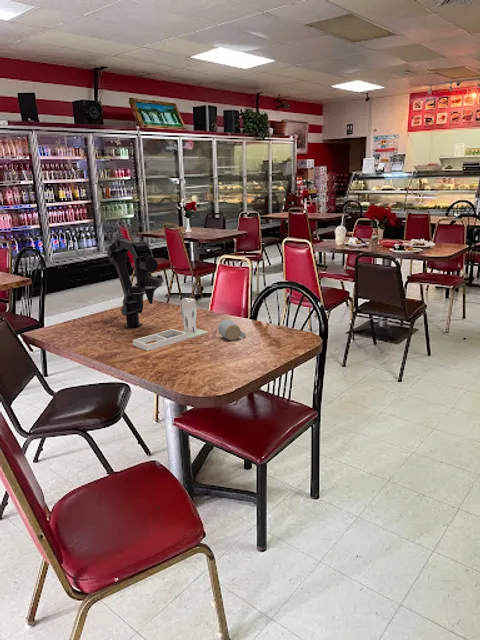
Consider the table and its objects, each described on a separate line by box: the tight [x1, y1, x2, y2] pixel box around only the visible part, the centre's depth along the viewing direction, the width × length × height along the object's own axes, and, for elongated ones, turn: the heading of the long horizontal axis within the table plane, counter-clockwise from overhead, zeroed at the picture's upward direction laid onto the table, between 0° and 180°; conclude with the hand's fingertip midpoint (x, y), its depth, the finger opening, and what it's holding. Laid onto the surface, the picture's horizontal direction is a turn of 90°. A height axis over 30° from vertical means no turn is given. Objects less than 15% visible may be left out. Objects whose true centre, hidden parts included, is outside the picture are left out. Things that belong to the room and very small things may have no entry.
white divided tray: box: [132, 327, 210, 352], centre depth 207 cm, size 32×11×2 cm, turn 133°
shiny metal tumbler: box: [180, 297, 198, 335], centre depth 212 cm, size 7×7×15 cm
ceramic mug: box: [217, 319, 246, 341], centre depth 204 cm, size 11×8×8 cm
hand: (146, 305), depth 214 cm, fingers open, 9 cm apart
